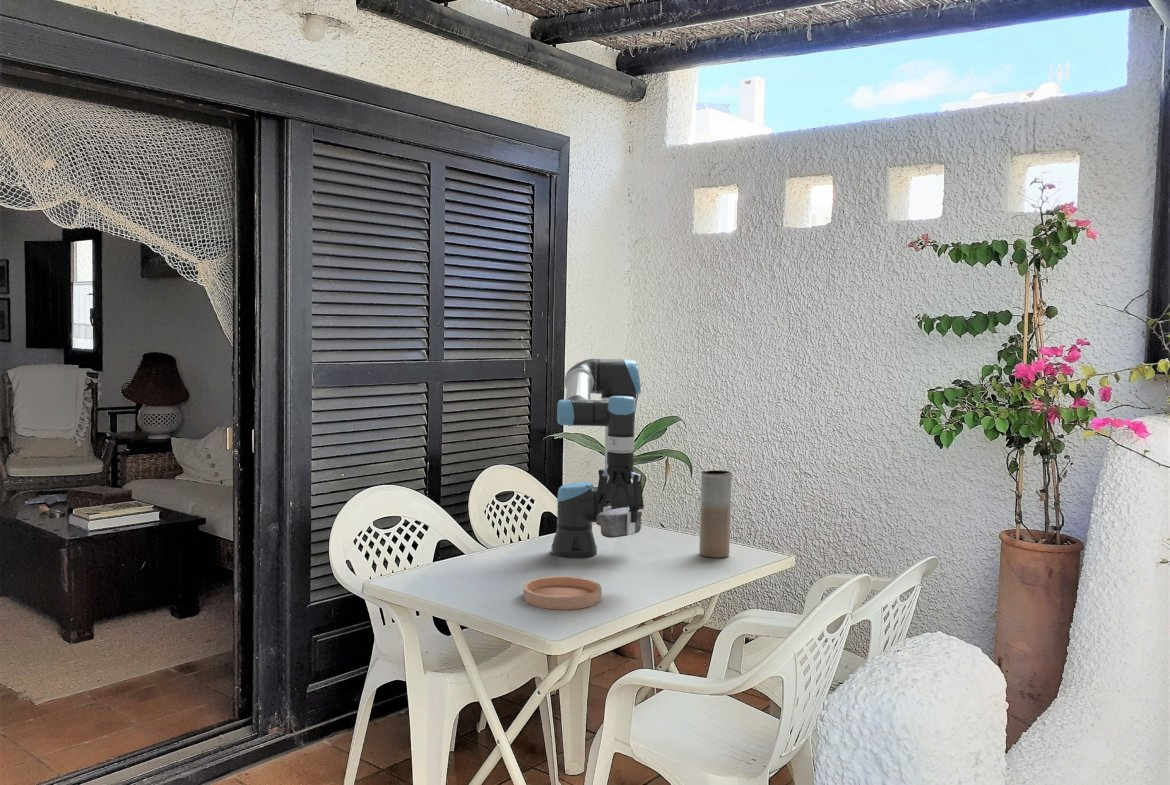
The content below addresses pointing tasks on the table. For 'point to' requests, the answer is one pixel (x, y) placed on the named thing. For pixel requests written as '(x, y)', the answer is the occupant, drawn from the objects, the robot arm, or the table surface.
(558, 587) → the saucer
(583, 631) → the table surface
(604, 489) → the robot arm
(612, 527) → the decorative stone
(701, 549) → the vase
